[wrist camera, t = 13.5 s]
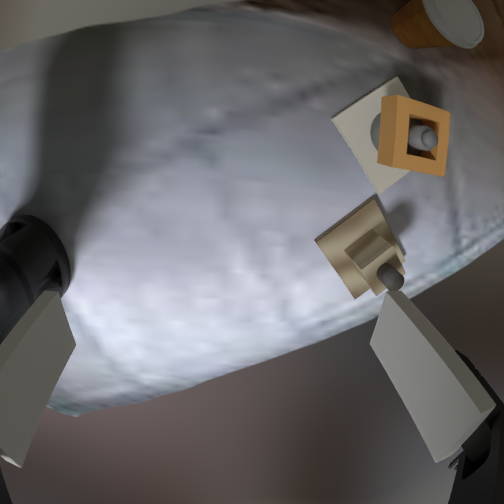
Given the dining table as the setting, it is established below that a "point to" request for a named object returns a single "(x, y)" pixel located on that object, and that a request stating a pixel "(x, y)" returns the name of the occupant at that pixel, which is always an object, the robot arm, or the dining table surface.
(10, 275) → the robot arm
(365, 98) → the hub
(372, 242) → the stand
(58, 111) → the dining table surface
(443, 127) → the ring
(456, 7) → the disposable coffee cup
